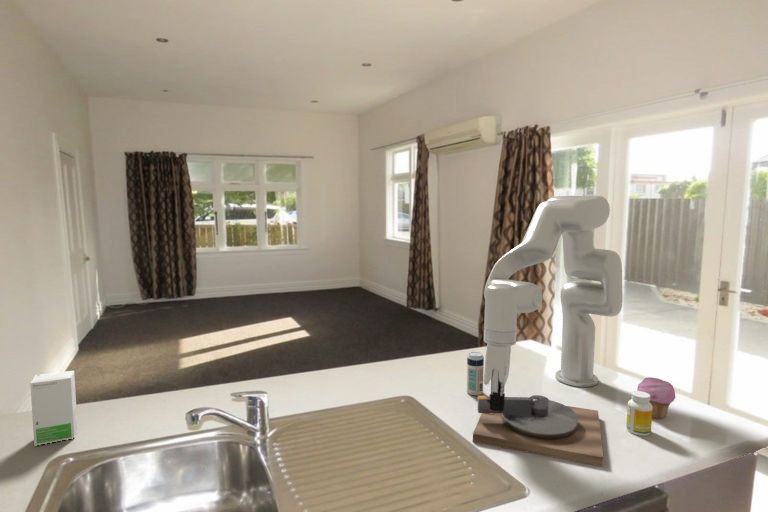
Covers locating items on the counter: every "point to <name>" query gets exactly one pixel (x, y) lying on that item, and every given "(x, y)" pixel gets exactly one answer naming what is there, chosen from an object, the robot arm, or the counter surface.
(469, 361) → the pill bottle
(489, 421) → the dial base
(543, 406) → the dial
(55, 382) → the skincare box
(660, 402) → the cupcake
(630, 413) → the supplement bottle
